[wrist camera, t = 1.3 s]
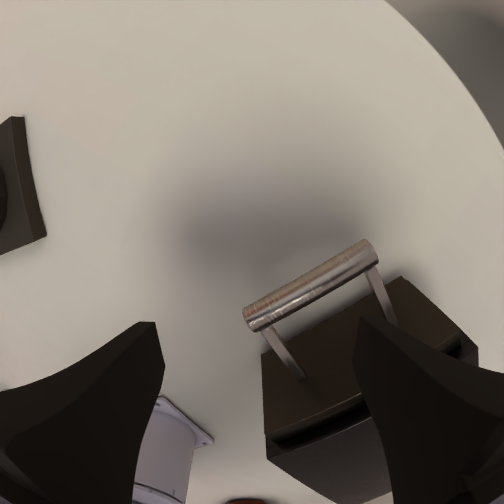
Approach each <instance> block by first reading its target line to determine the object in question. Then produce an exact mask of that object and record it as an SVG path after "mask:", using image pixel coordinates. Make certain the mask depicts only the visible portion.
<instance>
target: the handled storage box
mask: <svg viewBox="0 0 504 504" xmlns="http://www.w3.org/2000/svg"><path fill="white" fill-rule="evenodd" d="M407 281H408V280H407ZM408 282H409V281H408ZM409 283H410V282H409ZM410 284H411V283H410ZM411 285H412V286H413V287H414V288H416V287H415V286H414V285H413V284H411ZM416 289H417V288H416ZM417 290H418V289H417ZM418 291H419V290H418ZM419 292H420V291H419ZM420 293H421V294H422V295H423V296H424V297H425V298H427V297H426V296H425V295H424V294H423V293H422V292H420ZM427 299H428V298H427ZM428 300H429V299H428ZM429 301H430V300H429ZM430 302H431V301H430ZM431 303H432V304H433V305H434V306H435V307H436V308H437V309H438V310H439V311H441V310H440V309H439V308H438V307H437V306H436V305H435V304H434V303H433V302H431ZM441 312H442V311H441ZM442 313H443V312H442ZM443 314H444V313H443ZM444 315H445V314H444ZM445 316H446V315H445ZM446 317H447V316H446ZM447 318H448V319H449V320H450V321H451V322H452V323H453V324H454V325H455V326H456V327H457V328H458V329H459V331H460V338H461V345H459V346H458V347H457V348H455V349H454V350H453V351H451V352H450V353H449V354H447V355H449V356H451V357H453V358H456V359H458V360H461V361H463V362H465V363H468V364H471V365H474V366H477V367H479V361H478V346H477V345H476V344H475V343H474V342H473V341H472V340H470V338H469V337H468V336H467V335H466V334H465V333H464V332H463V331H462V330H461V329H460V328H459V327H458V326H457V325H456V324H455V323H454V322H453V321H452V320H451V319H450V318H449V317H447ZM265 437H266V456H267V459H268V460H269V461H270V462H272V463H273V464H275V465H276V466H277V467H279V468H280V469H282V470H283V471H285V472H286V473H288V474H289V475H291V476H292V477H294V478H295V479H297V480H298V481H300V482H301V483H303V484H305V485H306V486H308V487H309V488H311V489H313V490H314V491H316V492H318V493H319V494H321V495H323V496H324V497H326V498H328V499H330V500H331V501H333V502H335V503H337V504H363V503H365V502H368V501H370V500H373V499H375V498H378V497H380V496H383V495H385V494H387V493H389V492H392V489H391V482H390V476H389V471H388V466H387V462H386V457H385V453H384V449H383V446H382V442H381V438H380V435H379V433H378V430H377V427H376V425H375V422H374V420H373V418H372V415H371V413H370V411H369V409H368V407H366V408H364V409H362V410H360V411H358V412H356V413H354V414H352V415H350V416H347V417H345V418H343V419H341V420H339V421H337V422H334V423H332V424H330V425H328V426H325V427H323V428H321V429H318V430H316V431H313V432H311V433H308V434H306V435H303V436H300V437H298V438H296V437H295V436H294V437H291V438H288V439H286V440H283V441H280V442H277V443H274V442H273V441H272V440H271V439H270V438H268V437H267V436H266V435H265Z"/></svg>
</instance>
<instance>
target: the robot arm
mask: <svg viewBox="0 0 504 504" xmlns="http://www.w3.org/2000/svg"><path fill="white" fill-rule="evenodd" d="M352 365H353V368H354V372H355V376H356V379H357V383H358V385H359V388H360V390H361V392H362V395H363V397H364V399H365V402H366V404H367V406H368V409H369V411H370V413H371V415H372V418H373V420H374V422H375V425H376V427H377V430H378V433H379V435H380V438H381V442H382V446H383V449H384V453H385V457H386V462H387V466H388V471H389V476H390V482H391V489H392V496H393V504H504V373H499V372H495V371H491V370H487V369H484V368H480V367H477V366H474V365H471V364H468V363H465V362H463V361H461V360H458V359H456V358H453V357H451V356H449V355H446V354H444V353H442V352H440V351H438V350H436V349H434V348H433V347H431V346H429V345H427V344H425V343H423V342H422V341H420V340H418V339H416V338H415V337H413V336H411V335H410V334H408V333H406V332H405V331H403V330H401V329H400V328H398V327H396V326H395V325H393V324H391V323H390V322H388V321H386V320H385V319H383V318H381V317H379V316H377V315H366V316H360V317H359V324H358V329H357V335H356V341H355V346H354V351H353V356H352ZM164 371H165V363H164V359H163V355H162V351H161V347H160V342H159V338H158V334H157V329H156V324H155V322H138V323H136V324H134V325H133V326H131V327H130V328H128V329H127V330H125V331H124V332H122V333H121V334H119V335H118V336H117V337H115V338H114V339H112V340H111V341H109V342H108V343H106V344H105V345H104V346H102V347H101V348H99V349H98V350H96V351H94V352H93V353H91V354H90V355H88V356H86V357H85V358H83V359H82V360H80V361H78V362H77V363H75V364H73V365H71V366H69V367H68V368H66V369H64V370H62V371H59V372H57V373H55V374H53V375H51V376H48V377H46V378H43V379H41V380H38V381H36V382H33V383H30V384H27V385H24V386H21V387H17V388H14V389H10V390H6V391H1V392H0V504H185V502H186V495H187V489H188V483H189V476H190V470H191V464H192V458H193V452H194V449H196V448H200V447H204V446H208V445H212V444H213V443H214V440H213V439H212V438H211V437H210V436H209V435H207V434H206V433H205V432H204V431H202V430H201V429H200V428H199V427H197V426H196V425H195V424H194V423H193V422H191V421H190V420H189V419H188V418H187V417H185V416H184V415H183V414H182V413H181V412H180V411H179V410H177V409H176V408H175V407H174V406H173V405H172V404H171V403H170V402H169V401H168V400H166V399H165V398H163V397H159V398H158V395H159V392H160V389H161V385H162V381H163V376H164Z"/></svg>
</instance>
